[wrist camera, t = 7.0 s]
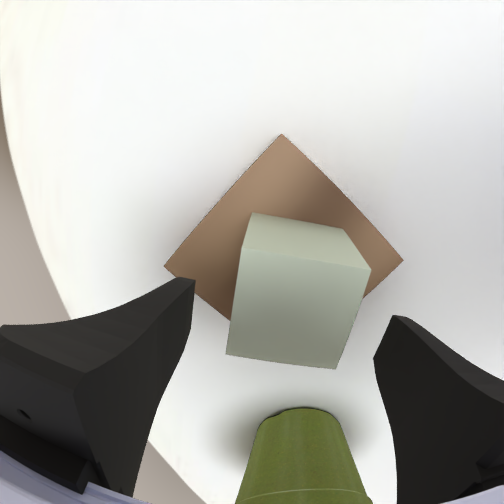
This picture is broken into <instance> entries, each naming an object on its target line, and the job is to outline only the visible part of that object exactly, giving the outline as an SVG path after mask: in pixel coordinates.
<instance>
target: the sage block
mask: <svg viewBox="0 0 504 504" xmlns="http://www.w3.org/2000/svg"><path fill="white" fill-rule="evenodd" d="M370 273H371V268H370V267H369V265H368V264H367V263H366V261H365V260H364V258H363V257H362V255H361V254H360V252H359V251H358V249H357V248H356V247H355V245H354V244H353V242H352V241H351V239H350V238H349V237H348V235H347V234H346V232H345V231H344V230H343V229H341V228H336V227H331V226H326V225H320V224H315V223H310V222H304V221H299V220H293V219H288V218H282V217H277V216H271V215H265V214H259V213H253V212H252V214H251V217H250V221H249V224H248V228H247V231H246V235H245V238H244V241H243V245H242V249H241V256H240V262H239V269H238V275H237V282H236V288H235V295H234V301H233V308H232V314H231V321H230V328H229V334H228V341H227V348H226V354H227V355H233V356H239V357H245V358H251V359H257V360H264V361H270V362H277V363H285V364H292V365H300V366H309V367H318V368H327V369H336V367H337V365H338V363H339V360H340V358H341V355H342V352H343V350H344V347H345V345H346V342H347V340H348V337H349V334H350V332H351V329H352V326H353V323H354V321H355V318H356V315H357V312H358V309H359V306H360V304H361V301H362V298H363V295H364V292H365V289H366V286H367V282H368V279H369V276H370Z"/></svg>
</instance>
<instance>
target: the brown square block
mask: <svg viewBox="0 0 504 504" xmlns="http://www.w3.org/2000/svg"><path fill="white" fill-rule="evenodd" d="M252 212H253V213H259V214H265V215H271V216H277V217H282V218H288V219H293V220H299V221H304V222H310V223H315V224H320V225H326V226H331V227H336V228H341V229H343V230H344V231H345V232H346V234H347V235H348V237H349V238H350V239H351V241H352V242H353V244H354V245H355V247H356V248H357V249H358V251H359V252H360V254H361V255H362V257H363V258H364V260H365V261H366V263H367V264H368V265H369V267H370V268H371V273H370V276H369V279H368V282H367V286H366V289H365V292H364V295H363V298H364V297H365V296H366V295H367V294H368V293H369V292H371V291H372V290H373V289H374V288H375V287H376V286H377V285H378V284H379V283H380V282H381V281H383V280H384V279H385V278H386V277H387V276H388V275H389V274H390V273H391V272H392V271H393V270H394V269H395V268H396V267H397V266H398V265H399V264H400V263H401V262H402V261H403V259H402V258H401V257H400V255H399V254H398V253H397V252H396V251H395V250H394V248H393V247H392V246H391V245H390V244H389V243H388V241H387V240H386V239H385V238H384V237H383V236H382V235H381V234H380V232H379V231H378V230H377V229H376V228H375V227H374V226H373V225H372V223H371V222H370V221H369V220H368V219H367V218H366V217H365V216H364V215H363V214H362V213H361V212H360V210H359V209H358V208H357V207H356V206H355V205H354V204H353V203H352V202H351V201H350V200H349V199H348V198H347V197H346V196H345V195H344V194H343V193H342V192H341V190H340V189H339V188H338V187H337V186H336V185H335V184H334V183H333V182H332V181H331V180H330V179H329V178H328V177H327V176H326V175H325V174H324V173H323V172H322V171H321V170H320V169H319V168H318V167H317V166H316V165H314V164H313V163H312V162H311V161H310V160H309V159H308V158H307V157H306V156H305V155H304V154H303V153H302V152H301V151H300V150H299V149H298V148H297V147H296V146H295V145H293V144H292V143H291V142H290V141H289V140H288V139H287V138H286V137H285V136H284V135H283V134H281V135H280V136H279V137H278V138H277V139H276V140H275V141H274V142H273V143H272V144H271V145H270V146H269V147H268V148H267V149H266V150H265V151H264V152H263V154H262V155H261V156H260V157H259V158H258V159H257V160H256V161H255V162H254V163H253V164H252V165H251V166H250V167H249V169H248V170H247V171H246V172H245V173H244V174H243V175H242V176H241V177H240V178H239V179H238V181H237V182H236V183H235V184H234V185H233V186H232V187H231V188H230V189H229V190H228V192H227V193H226V194H225V195H224V196H223V197H222V198H221V199H220V201H219V202H218V203H217V204H216V205H215V206H214V207H213V208H212V210H211V211H210V212H209V213H208V214H207V215H206V216H205V218H204V219H203V220H202V221H201V222H200V223H199V224H198V226H197V227H196V228H195V229H194V230H193V231H192V233H191V234H190V235H189V236H188V237H187V238H186V240H185V241H184V242H183V243H182V244H181V245H180V247H179V248H178V249H177V250H176V251H175V253H174V254H173V255H172V256H171V258H170V259H169V260H168V261H167V263H166V264H165V265H164V267H165V268H166V269H167V270H168V271H169V272H171V273H172V274H173V275H174V276H175V277H184V278H189V279H193V280H196V283H195V293H196V294H197V295H198V296H200V297H201V298H202V299H203V300H204V301H206V302H207V303H208V304H209V305H211V306H212V307H213V308H214V309H216V310H217V311H218V312H219V313H221V314H222V315H223V316H225V317H226V318H227V319H228V320H230V321H231V314H232V308H233V301H234V295H235V288H236V282H237V275H238V269H239V262H240V256H241V249H242V245H243V241H244V238H245V235H246V231H247V228H248V224H249V221H250V217H251V214H252ZM363 298H362V299H363Z"/></svg>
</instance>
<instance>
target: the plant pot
mask: <svg viewBox="0 0 504 504" xmlns="http://www.w3.org/2000/svg"><path fill="white" fill-rule="evenodd" d="M235 504H373V503H372V500H371V499H370V498H369V497H368V496H367V494H366V492H365V489H364V486H363V484H362V481H361V478H360V476H359V473H358V470H357V468H356V465H355V462H354V460H353V457H352V455H351V452H350V449H349V447H348V444H347V441H346V439H345V436H344V433H343V431H342V428H341V426H340V424H339V422H338V421H337V420H336V419H335V418H334V417H333V416H332V415H331V414H329V413H327V412H324V411H320V410H316V409H292V410H287V411H284V412H282V413H281V414H279V415H277V416H274V417H269V418H267V419H266V420H265V421H263V422H262V424H261V425H260V426H259V428H258V431H257V434H256V438H255V441H254V445H253V448H252V451H251V455H250V458H249V461H248V464H247V468H246V471H245V474H244V477H243V480H242V483H241V486H240V490H239V493H238V496H237V499H236V502H235Z"/></svg>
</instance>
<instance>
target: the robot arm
mask: <svg viewBox="0 0 504 504" xmlns="http://www.w3.org/2000/svg"><path fill="white" fill-rule="evenodd" d="M195 283H196V280H193V279H189V278H184V277H177V278H175V279H173V280H171V281H169V282H167V283H165V284H164V285H162V286H160V287H158V288H156V289H154V290H153V291H151V292H149V293H147V294H145V295H143V296H141V297H139V298H136V299H134V300H132V301H130V302H128V303H126V304H123V305H121V306H119V307H116V308H113V309H110V310H107V311H104V312H101V313H98V314H95V315H91V316H86V317H82V318H78V319H73V320H68V321H63V322H56V323H47V324H34V325H2V326H1V327H0V504H151V503H148V502H144V501H141V500H138V499H135V498H132V497H133V492H134V488H135V483H136V480H137V476H138V472H139V468H140V464H141V461H142V457H143V453H144V450H145V446H146V443H147V439H148V436H149V433H150V429H151V426H152V423H153V420H154V417H155V414H156V411H157V408H158V405H159V403H160V400H161V398H162V396H163V394H164V391H165V389H166V387H167V385H168V383H169V381H170V379H171V377H172V375H173V373H174V370H175V368H176V366H177V364H178V362H179V360H180V358H181V356H182V353H183V351H184V348H185V345H186V342H187V339H188V336H189V333H190V329H191V321H192V311H193V302H194V292H195ZM373 360H374V367H375V374H376V380H377V383H378V387H379V390H380V393H381V397H382V400H383V403H384V406H385V410H386V413H387V416H388V420H389V423H390V427H391V431H392V435H393V442H394V449H395V457H396V471H397V504H504V381H503V380H501V379H499V378H497V377H495V376H493V375H491V374H489V373H487V372H486V371H484V370H482V369H481V368H479V367H477V366H476V365H474V364H472V363H471V362H469V361H468V360H466V359H465V358H463V357H462V356H460V355H459V354H458V353H456V352H455V351H453V350H452V349H451V348H449V347H448V346H447V345H445V344H444V343H443V342H441V341H440V340H439V339H438V338H436V337H435V336H434V335H432V334H431V333H430V332H428V331H427V330H426V329H424V328H423V327H422V326H420V325H419V324H417V323H416V322H414V321H413V320H411V319H409V318H407V317H403V316H397V315H392V318H391V320H390V322H389V325H388V327H387V329H386V331H385V334H384V336H383V338H382V340H381V343H380V345H379V347H378V349H377V351H376V353H375V355H374V357H373Z"/></svg>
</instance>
